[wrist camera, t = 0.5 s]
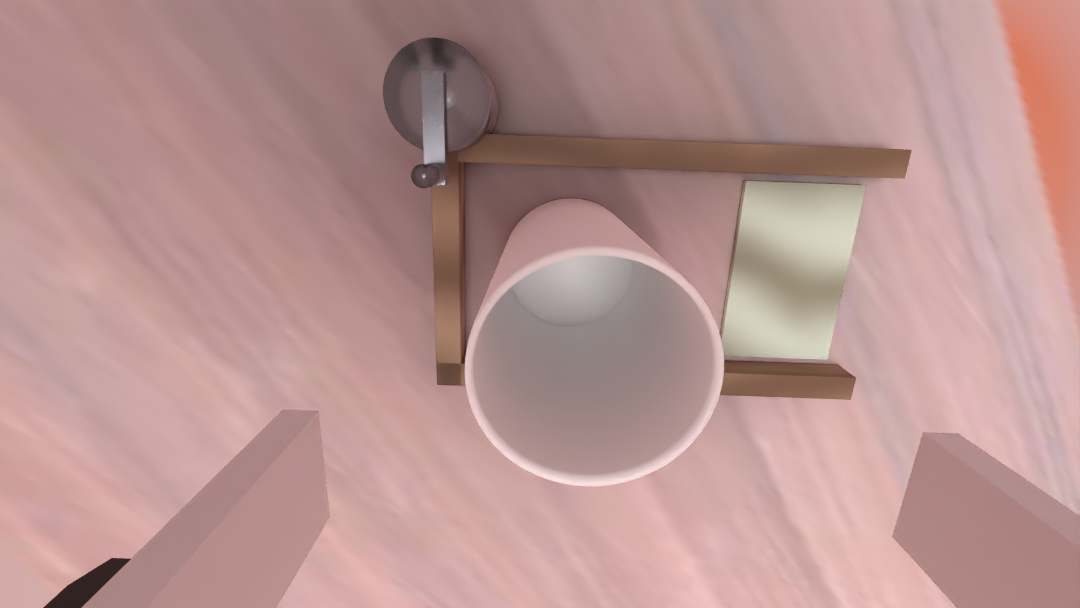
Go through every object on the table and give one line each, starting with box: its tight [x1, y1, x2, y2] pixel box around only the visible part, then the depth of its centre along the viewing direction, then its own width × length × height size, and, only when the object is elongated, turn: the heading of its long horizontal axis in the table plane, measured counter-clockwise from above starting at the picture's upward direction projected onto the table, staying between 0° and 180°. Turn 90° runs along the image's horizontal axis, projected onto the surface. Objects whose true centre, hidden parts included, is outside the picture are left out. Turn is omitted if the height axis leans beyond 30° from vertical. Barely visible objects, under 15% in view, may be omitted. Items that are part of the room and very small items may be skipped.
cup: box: [465, 198, 724, 486], centre depth 23 cm, size 8×8×16 cm
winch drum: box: [383, 38, 499, 188], centre depth 24 cm, size 6×5×8 cm
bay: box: [432, 134, 911, 400], centre depth 30 cm, size 15×26×2 cm, turn 88°
